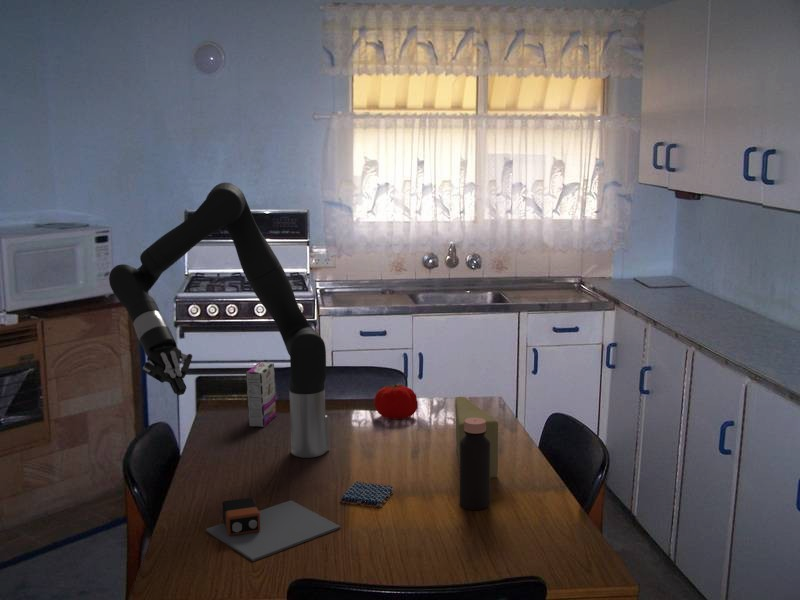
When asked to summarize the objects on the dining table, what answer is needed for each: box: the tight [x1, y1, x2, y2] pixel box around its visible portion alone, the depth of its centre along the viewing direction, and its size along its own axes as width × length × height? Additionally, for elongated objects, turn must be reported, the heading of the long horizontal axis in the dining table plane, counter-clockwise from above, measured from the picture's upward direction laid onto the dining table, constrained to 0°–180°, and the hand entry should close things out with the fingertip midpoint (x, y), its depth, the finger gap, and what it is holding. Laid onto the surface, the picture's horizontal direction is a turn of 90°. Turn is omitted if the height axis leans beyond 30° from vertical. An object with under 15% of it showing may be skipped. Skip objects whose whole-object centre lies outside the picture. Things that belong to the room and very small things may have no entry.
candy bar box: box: [245, 361, 278, 428], centre depth 263 cm, size 11×5×16 cm, turn 168°
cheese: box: [454, 396, 499, 479], centre depth 229 cm, size 22×10×15 cm, turn 9°
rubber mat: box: [205, 499, 341, 562], centre depth 194 cm, size 22×18×1 cm
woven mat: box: [339, 480, 394, 508], centre depth 211 cm, size 10×11×2 cm
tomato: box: [373, 383, 419, 420], centre depth 266 cm, size 11×13×10 cm
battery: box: [221, 497, 260, 536], centre depth 194 cm, size 4×7×10 cm
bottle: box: [459, 417, 491, 511], centre depth 204 cm, size 7×7×20 cm
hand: (181, 393), depth 213 cm, fingers closed
